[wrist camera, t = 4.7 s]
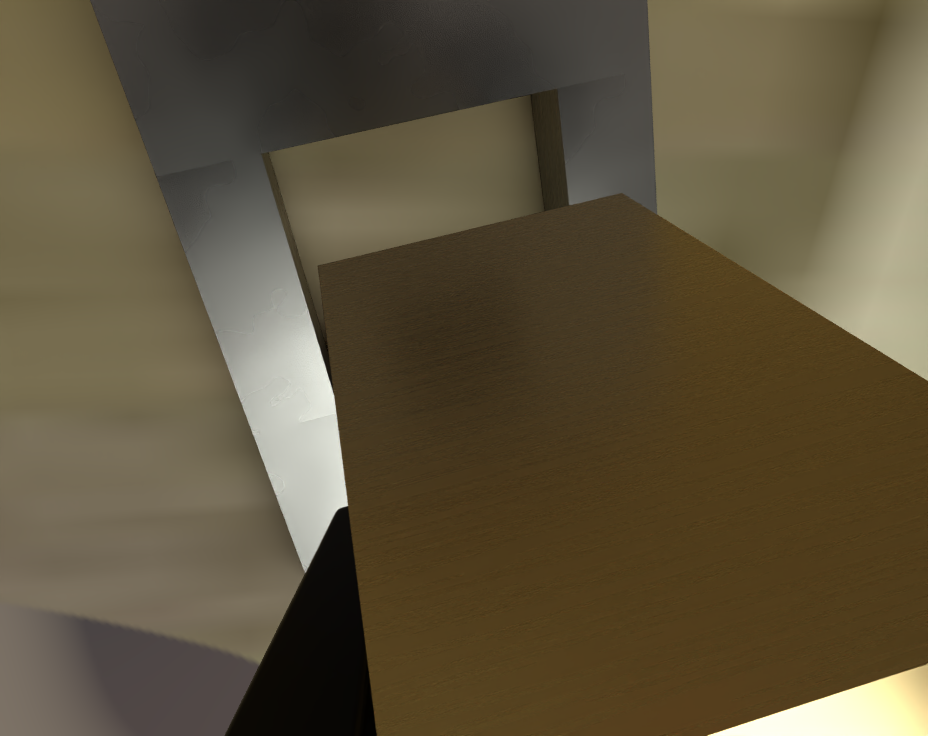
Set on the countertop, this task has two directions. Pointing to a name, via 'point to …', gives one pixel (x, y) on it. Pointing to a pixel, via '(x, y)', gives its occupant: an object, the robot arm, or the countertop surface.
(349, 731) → the robot arm
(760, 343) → the wood grain block
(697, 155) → the countertop surface
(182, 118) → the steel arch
